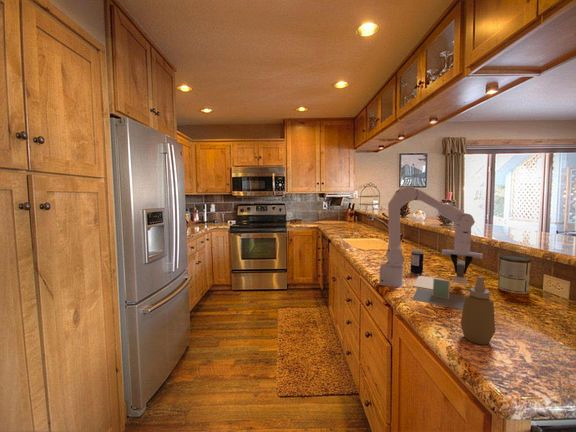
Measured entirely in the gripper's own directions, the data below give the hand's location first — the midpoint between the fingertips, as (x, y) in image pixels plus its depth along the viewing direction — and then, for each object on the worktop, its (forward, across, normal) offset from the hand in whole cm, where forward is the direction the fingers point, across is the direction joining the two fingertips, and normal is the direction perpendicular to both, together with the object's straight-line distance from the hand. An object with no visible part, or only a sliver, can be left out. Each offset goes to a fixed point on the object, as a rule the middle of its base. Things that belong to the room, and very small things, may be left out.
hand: (460, 272), depth 117 cm
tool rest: (+7, +13, +1) cm, 15 cm away
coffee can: (+7, -19, -12) cm, 24 cm away
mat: (+7, +5, +18) cm, 20 cm away
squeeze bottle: (+7, -5, +45) cm, 45 cm away
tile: (+7, +6, +16) cm, 18 cm away
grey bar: (+2, 0, +2) cm, 3 cm away
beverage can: (+7, +19, -14) cm, 25 cm away
